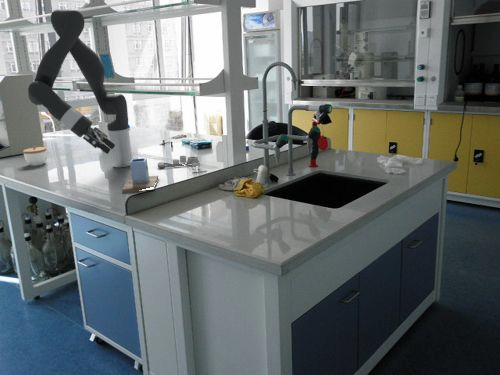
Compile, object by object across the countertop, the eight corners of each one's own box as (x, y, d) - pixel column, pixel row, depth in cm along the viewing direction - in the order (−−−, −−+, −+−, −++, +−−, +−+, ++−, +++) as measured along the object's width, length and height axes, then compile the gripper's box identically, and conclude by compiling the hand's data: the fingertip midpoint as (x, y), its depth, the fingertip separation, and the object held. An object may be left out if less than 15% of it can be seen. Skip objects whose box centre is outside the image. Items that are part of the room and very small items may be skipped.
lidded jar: (52, 161, 237) (49, 143, 234) (43, 166, 227) (39, 147, 224) (32, 162, 238) (28, 144, 235) (21, 167, 227) (17, 148, 225)
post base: (129, 181, 190) (126, 160, 188) (158, 179, 191) (156, 158, 188) (122, 193, 175) (119, 170, 173) (154, 190, 176) (151, 168, 173)
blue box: (135, 180, 185) (132, 159, 182) (149, 179, 185) (146, 157, 183) (133, 184, 180) (129, 162, 177) (147, 183, 180) (144, 161, 177)
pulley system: (174, 162, 222) (152, 168, 209) (174, 152, 220) (152, 158, 208) (220, 169, 207) (199, 176, 195) (220, 159, 206) (199, 165, 194)
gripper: (77, 117, 166) (113, 146, 171) (87, 112, 180) (120, 138, 184) (64, 133, 168) (101, 161, 172) (75, 126, 181) (109, 152, 185)
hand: (111, 149), depth 178 cm, fingers open, 8 cm apart
